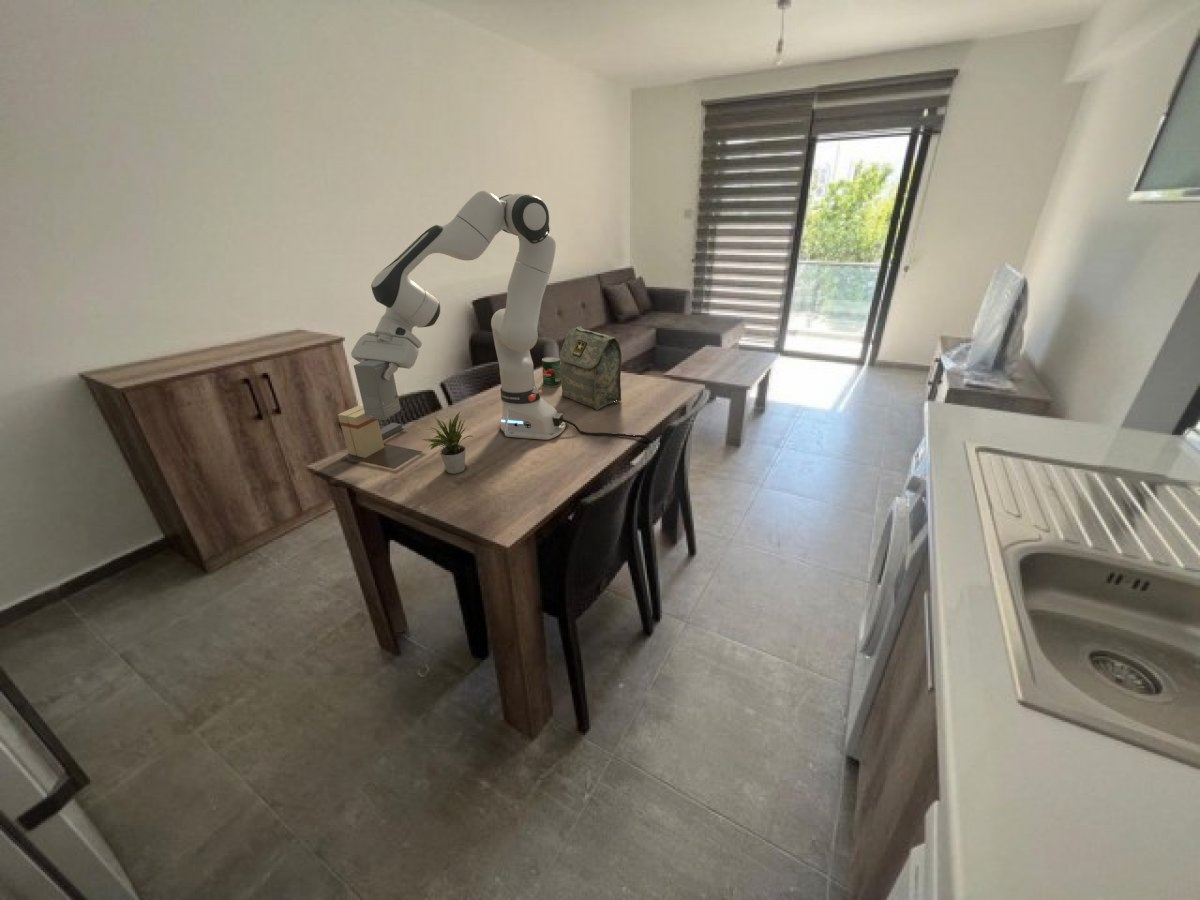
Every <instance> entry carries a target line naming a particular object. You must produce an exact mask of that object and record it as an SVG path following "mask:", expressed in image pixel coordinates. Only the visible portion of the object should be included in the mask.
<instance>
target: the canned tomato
mask: <svg viewBox="0 0 1200 900" xmlns="http://www.w3.org/2000/svg"><path fill="white" fill-rule="evenodd" d="M541 367H542V368H541V369H542V382H543V383H542V384H543V386H544V387H550V388H552V387H553V388H554V387H559V386H561V373H560V367H561V360H560V357H559V356H545V357H543V358H542V359H541Z"/></svg>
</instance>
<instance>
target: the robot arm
mask: <svg viewBox="0 0 1200 900" xmlns="http://www.w3.org/2000/svg"><path fill="white" fill-rule="evenodd" d="M501 231H503V232H505V233H507V234H510V235H513V236H516V237H517V238H518V252H517V255H516V257H515V261H514V265H513V267H512V271H511V273H510V277H509V280H508V284H507V287H506V289H507V295H506V302H505V308H499V309H498V310H497V311H495V313H493V315H492V317H491V321H490V326H491V330H492V331H491V332H492V337H493V342H494V347H495V353H496V357H497V361H498V362H497V363H498V368H499V376H500V386H501V387H500V400H501V402H502V415H501V416H502V417H501V419H500V422H501V423H500V430H501V431H502V432H503V433H504V436H505V437H508V438H517V439H518V438H519V439H532V440H544V441H545V440H546V441H548V440H551V439H554V438H556V437H558V436H559V435H560V434H562V433H563V432H564V430H565V429H566V426H567V425H566V424H569V425H570V426H572V427H573V428H574V429H575V430H576V431H577V432H578V433H579V434H582V435H587V436H608V437H626V438H641V439H645V440H648V442H649V443H654V441H653V439H652V438H651V437H649V436H647V435H645V434H631V435H626V434H627V433H617V434H612V433H613V432H588V431H583V430H581V429H580V428H579V427H578V426H577V424H576V423H574V422H572V421H570V420H568V419H565V418H564V413H563V412H558V411H557V410H556V408H554V406H552V405H550V404H549V403H548V402H546V400H544V399H543V398H542V397H541V395H540V394H542V393H543V389H542V388H541V389H539V390H538V388H537V386H536V385H535V384H536V383H535V372H534V371H535V369H534V361H533V359H532V354H531V350H532V349H533V348H534V347H535V346H536V344H537V342H538V337H539V333H538V328H539V327H538V326H539V321H540V315H541V308H542V307H541V306H542V302H543V298H544V295H545V291H546V288H547V285H548V282H549V278H550V275H551V272H552V269H553V265H554V261H555V254H556V249H557V248H556V247H557V243H556V240H555V238H554V237H553V235H551V233H550V231H551V229H550V213H549V208H548V207H547V205H546V203H545V202H544V200H542V199H541V198H540V197H538V196H536V195H534V194H529V193H528V194H527V193H522V192H521V193H514V194H512V193H511V194H505V195H503V196H500V197H497V196H496V195H495V194H493V193H492V192H490V191H486V190H480V191H477V192H476V193H475V194H474V195H472V197H470V198H469V200H468V201H467V202H465V204H464V205H463V206H461V209H459V211H458V212H457V214H456V215H455V216H454V218H453V219H452V220H451V221H450V222H448V223H446V224H444V225H438V224H435V225H433V226H430V227H429V228H427V229H426V230H425V231H424V232H423V233H422V234H421V235H419V236H418V237H417V238H416V239H415V240H414V241H413V242H412V243H411V244H409V246H407V248H405V250H404V251H403V252H402V253H400V254H399V255H398V256H397V257H396V258H395V259H394V260H393V261H392V262H391V263H390V264H389V265H387V266H386V267H384V268H383V269H382V270H381V271H379V272H378V273H377V274H376V276H374V278H373V280H372V282H371V285H370V287H371V292H372V295H373V298H374V299H375V301H376V302H377V303H379V304H381V305H382V306H384V307H386V308H385V312H384V314H383V315H382V316H381V317H380V319H379V322H378V324H377V326H376V328H375V331H374V332H371V331H370V332H369V331H368V332H366V333H365V334H363V335H361V336H360V338H359V339H358V340H357V341H356V343H355V345H354V346H353V348H352V350H351V352H350V355H351V358H353V359H354V360H355V361H356V362H358V363H361V362H362V361H367V360H376V361H383V362H389V368H388V369H387V370H386V371H385V372H383V373H382V375H381V377H382V378H383V379H385V380H389V379H390V377H391V375H392V374H395V373H396V372H398V369H399V368H400V369H408V370H410V369H412V368H413V367H414V365H415V363H416V361H417V359H418V356H419V352H420V350H419V349H420V348H421V347H422V344H423V342H422V341H421V340H420V339H419V338H418V337H417V336H416V335H415V334H414V333H412V332H413V328H414V327H416V328H429V327H432V326H434V325H435V324H436V323H437V321H438V319H439V317H440V314H441V304H440V300H438V299H437V297H435V296H434V295H433V294H431V293H430V292H429V291H427V290H426V289H425V288H423V287H421V286H420V285H419V284H417V282H415V281H413V280H412V279H411V278H410V277H409V274H411V273H412V272H413V271H414V270H415V269H416V268H417V267H418V266H420V264H421V263H422V262H423V261H424V260H425V259H426V258H427V257H428V256H430V255H433V254H442V255H445V256H448V257H450V258H454V259H457V260H461V261H474V260H476V259H477V260H478V258H480V257H481V256H482V255H483V254H484V253H485V251H487V249H488V247H489V246H490V244H491V243H492V242H493V240H494V239H495V237H496V236H497V235H498V234H499V233H500V232H501ZM633 435H635V436H633ZM652 523H654V524H655V523H656V517H654V518H653V520H652Z"/></svg>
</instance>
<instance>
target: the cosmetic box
mask: <svg viewBox="0 0 1200 900" xmlns="http://www.w3.org/2000/svg"><path fill="white" fill-rule="evenodd" d="M388 368H389V362H383V361H376V360H367V361H362V362H361V363H360V362H358V363H355V364H353V369H354V373H355V377H356V381H357V385H358V390H359V394H360V398H361V403H362V406H363V407H364V411H365V415H366V418H371V419H378V420H382V421H386V420H388V419H390V418H391V417H393V416H394V415H395V414H397V413H399V412H401V405H400V400H399V393H398V390H397V385H396V380H395V375H394V374H395V373H393V374H392V375H391V377H390V379H389V380H385V379H383V378H382V377H381V375H382V373H383V372H385V371H386V370H387V369H388Z"/></svg>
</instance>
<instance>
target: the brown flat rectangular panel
mask: <svg viewBox="0 0 1200 900" xmlns="http://www.w3.org/2000/svg"><path fill="white" fill-rule="evenodd" d="M421 453H423V451H422V450H418V449H414V448H409V447H404V446H399V445H393V444H389V443H384V448H382V449H381V450H379V451H377V452H375V453H373V454H371V455H370V456H368V457H366V458H364V457H360V456H355V455H351V454H348V453H347V454H346V455H344V456H342V458H344V459H348V460H353V461H357V462H361V463H366V464H370V465H375V466H380V467H384V468H388V469H392V470H395V469H397V468H399V467H400V466H402V465H403V464H405V463H407V462H409V461H410V460H412V459H413V458H415V457H417V456H418V455H420V454H421Z"/></svg>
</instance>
